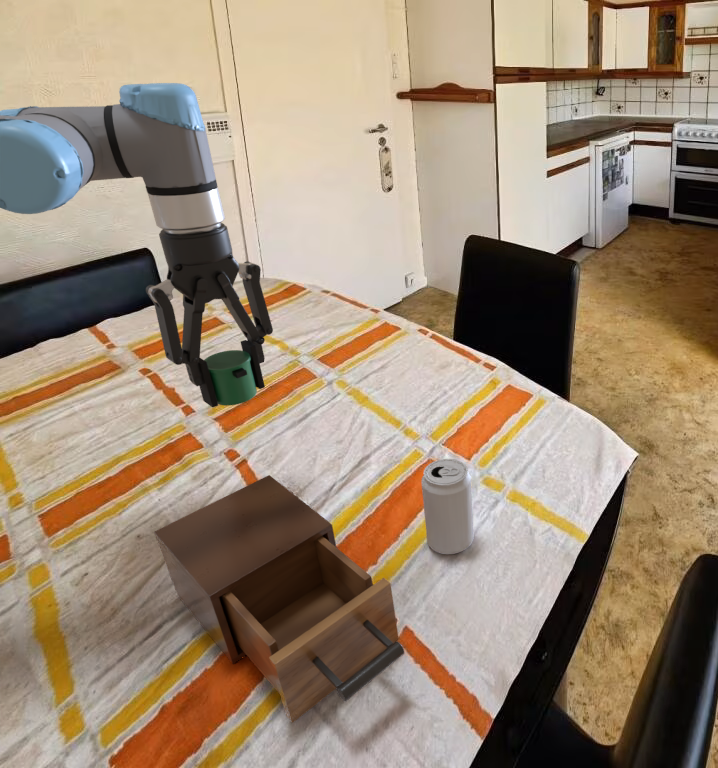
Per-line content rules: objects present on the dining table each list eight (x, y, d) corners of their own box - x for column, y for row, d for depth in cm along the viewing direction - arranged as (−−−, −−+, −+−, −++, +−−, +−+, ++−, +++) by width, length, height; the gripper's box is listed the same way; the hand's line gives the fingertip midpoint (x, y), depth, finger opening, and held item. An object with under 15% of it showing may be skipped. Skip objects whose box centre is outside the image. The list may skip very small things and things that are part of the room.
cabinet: (344, 589, 78) (332, 524, 73) (233, 664, 69) (209, 596, 64) (284, 536, 87) (269, 474, 82) (178, 596, 78) (153, 531, 72)
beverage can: (431, 525, 88) (424, 456, 83) (476, 526, 88) (472, 456, 82) (424, 558, 83) (416, 485, 77) (472, 558, 83) (468, 486, 77)
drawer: (433, 669, 67) (426, 612, 63) (325, 763, 58) (309, 703, 54) (331, 579, 78) (320, 525, 74) (228, 646, 70) (209, 590, 66)
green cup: (201, 394, 86) (190, 358, 83) (242, 378, 90) (233, 344, 87) (228, 413, 82) (217, 376, 79) (270, 396, 85) (261, 360, 83)
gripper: (251, 207, 83) (282, 362, 94) (94, 236, 71) (151, 411, 82) (280, 216, 79) (310, 378, 90) (118, 248, 66) (176, 432, 77)
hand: (234, 393), depth 86 cm, fingers closed on green cup, 6 cm apart
